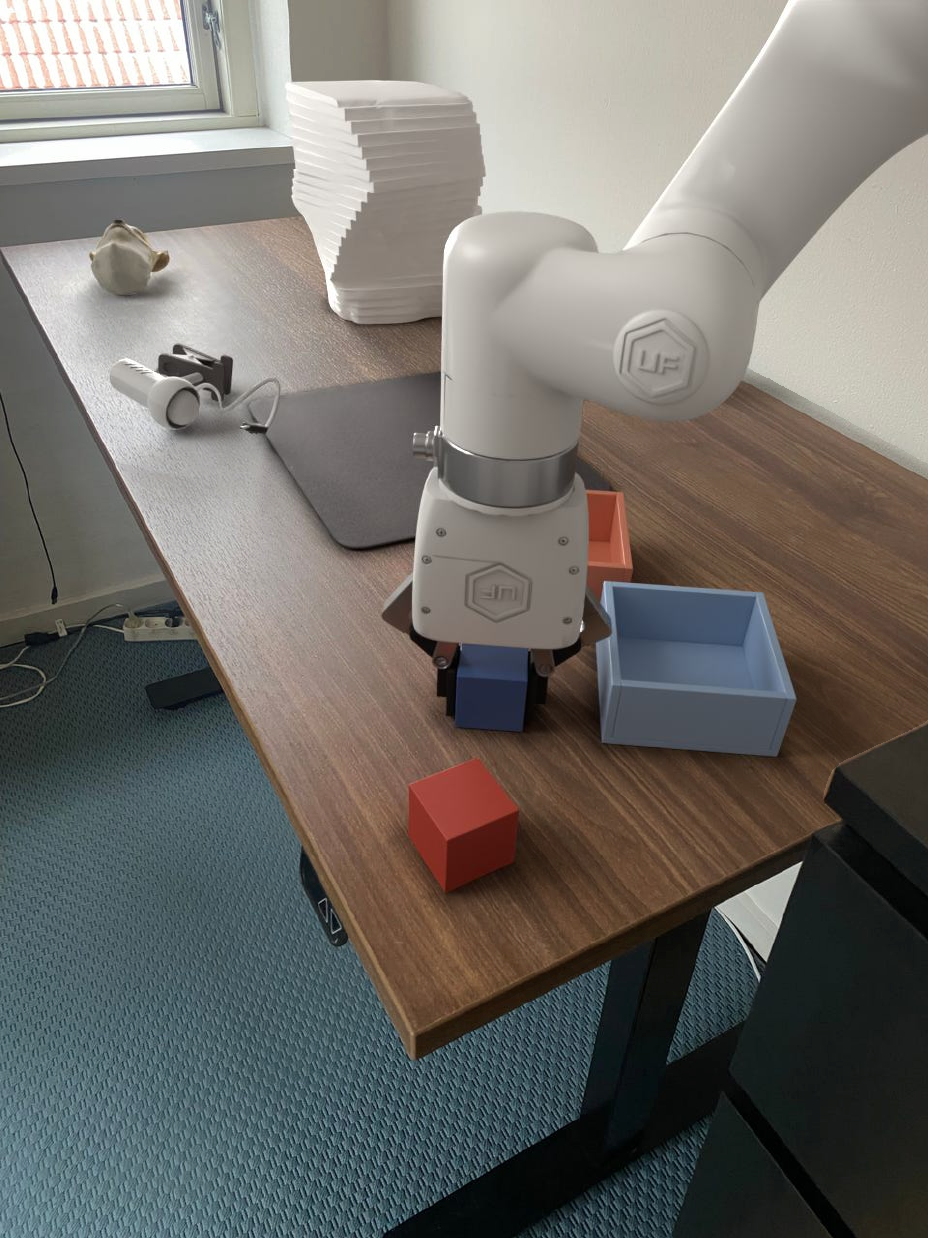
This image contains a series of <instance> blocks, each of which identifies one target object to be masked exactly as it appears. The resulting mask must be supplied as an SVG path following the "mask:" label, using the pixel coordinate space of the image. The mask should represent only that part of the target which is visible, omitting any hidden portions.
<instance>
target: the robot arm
mask: <svg viewBox="0 0 928 1238" xmlns="http://www.w3.org/2000/svg"><path fill="white" fill-rule="evenodd" d="M927 135H928V0H788V1H787V2H786V5H785V6H784V9H783V11H782V13H781V15H780V17H779V19H778V21H777V23H776V24H775V27H774V28H773V30H772V32H771V33H770V35H769V37H768V39H767V41H765V44H764V45H763V47H762V49H761V50H760V52H759V54H758V55H757V56H756V58H755V60H754V61H753V62H752V64H751V66H750V67H749V69H748V70H747V72H746V73H745V75H744V76H743V78H742V79H741V81H740V82H739V84H738V85H737V87H736V88H735V90H734V91H733V92H732V94H731V95H730V97H729V98H728V100H727V101H726V103H725V104H724V106H723V107H722V109H721V110H720V111H719V113H717V116H716V117H715V119H714V120H713V121H712V122H711V124H710V125H709V127H708V129H706V131H705V133H703V136H702V137H701V138H700V140H699V141H698V143H697V144H696V146H695V147H694V149H693V150H692V151H691V153H690V155H689V156H688V157H687V158H686V160H685V161H684V163H683V164H682V166H680V168H679V170H678V171H677V173H676V174H675V176H674V177H673V179H672V180H671V181H670V182H669V184H668V186H667V187H666V188H665V190H664V191H663V193H662V194H661V196H660V197H659V198H658V199H657V201H656V203H655V204H654V205H653V207H652V208H651V209H650V210H649V212H648V214H647V215H646V216H645V218H644V219H643V221H642V222H641V223H640V225H639V226H638V228H637V229H636V230H635V232H634V233H633V235H632V236H631V237H630V239H629V240H628V242H627V243H626V245H625V246H624V247H623V249H622V250H618V251H617V252H611V253H607V252H600V251H599V247H598V243H597V241H596V240H595V237H594V236H593V234H592V233H591V232H590V231H589V230H588V229H587V228H586V227H584V225H581V224H580V223H578V222H575V221H573V220H571V219H568V218H565V217H563V216H559V215H555V214H550V213H545V212H537V211H525V210H508V211H507V210H506V211H504V210H503V211H493V212H487V213H482V215H478V216H475V217H472V218H469V219H467V220H465V221H463V222H462V223H461V224H459V225H458V226H457V227H456V228H455V229H454V230H453V232H452V233H451V235H450V237H449V239H448V241H447V243H446V247H445V251H444V264H443V301H442V316H441V318H442V319H441V355H440V357H441V358H440V364H441V365H440V366H441V367H440V371H441V413H440V426H436V429H435V432H431V431H428V434H422V433H414V438H413V457H415V458H426V460H427V461H433V466H434V468H433V469H432V470H431V472H430V473H429V476H428V478H427V480H426V483H425V487H424V490H423V494H422V498H421V503H420V509H419V514H418V522H417V530H416V538H415V542H414V544H415V545H414V555H413V571H412V572H411V573H410V574H409V575H408V576H407V577H406V578H405V579H404V580H403V582H402V583H401V584H400V585H399V586H398V587H397V588H396V589H395V590H394V591H393V592H392V593H391V595H390V596H388V597H387V599H386V600H385V601H384V603H383V607H382V611H381V619H382V621H384V622H385V623H386V624H388V625H390V626H391V627H393V628H395V629H396V630H397V631H399V632H401V633H402V634H406V635H408V636H409V639H410V640H411V642H412V643H414V644H415V645H416V646H418V648H419V649H421V650H422V651H423V652H424V653H425V654H426V655H428V656H429V657H430V658H431V663H432V665H433V667H435V668H436V669H437V670H436V697H437V698H446V699H445V703H446V704H445V717H452V718H453V717H454V716H456V690H457V672H458V664H459V656H460V648H461V645H460V644H461V643H462V644H474V645H487V646H501V647H515V648H529V650H528V682H527V692H526V702H525V712H524V721H525V723H531V724H532V723H534V721H535V710H536V705H539V706H540V705H541V706H546V702H547V696H548V695H547V693H548V685H549V677H551V676H553V675H554V673H555V672H556V671H555V670H556V668H557V667H558V666H560V665H561V664H563V663H564V662H566V661H568V660H570V658H572V657H574V656H575V655H578V654H579V653H580V652H581V650H582V648H585V647H587V648H588V647H590V646H592V645H595V644H596V643H597V642H599V641H601V640H603V639H606V638H608V637H609V636H611V634H612V625H611V618H610V616H609V615H608V613H607V612H606V610H605V609H604V608H603V606H602V605H601V603H600V602H599V600H598V599H597V598H596V596H595V595H594V593H593V592H592V590H591V589H590V588H589V586H588V585H587V583H586V578H587V564H588V547H589V515H588V502H587V495H586V490H585V488H584V483H583V480H582V479H581V477H580V476H579V475H578V474H577V473H576V472H575V471H576V463H577V456H578V453H579V445H580V437H581V436H580V435H581V426H582V417H583V410H584V402H585V401H584V400H586V401H588V402H591V403H593V404H595V405H598V406H602V407H603V408H606V409H608V410H612V411H614V412H617V413H620V414H623V415H626V416H629V417H633V418H637V419H640V420H645V421H651V422H656V423H680V422H687V421H690V420H694V419H697V418H700V417H702V416H705V415H708V414H709V413H711V412H713V411H714V410H715V409H717V408H718V407H720V406H721V405H722V404H723V403H724V402H726V401H727V400H728V399H729V398H730V397H731V396H732V394H733V393H734V392H735V391H736V389H738V387H739V385H740V383H741V381H742V380H743V378H744V376H745V374H746V371H747V369H748V368H749V367H748V366H749V364H750V361H751V357H752V353H753V348H754V343H755V335H756V330H757V323H758V315H759V307H760V303H761V301H762V300H763V298H764V297H765V296H766V294H767V293H768V292H769V290H770V289H771V288H772V287H773V285H774V284H775V283H776V281H777V280H778V279H779V278H780V277H781V276H782V275H783V273H784V272H785V271H786V270H787V268H788V267H789V266H790V265H791V263H792V262H793V261H794V260H795V259H796V258H797V257H798V255H799V254H800V253H801V252H802V250H803V249H805V247H806V246H807V244H808V243H809V242H810V241H811V240H812V239H813V238H814V236H815V235H816V234H817V233H818V232H819V230H820V229H821V228H822V227H823V226H824V225H825V223H826V222H827V221H828V220H830V218H831V217H832V216H833V214H834V213H835V212H836V211H837V210H838V209H839V208H840V207H841V206H842V205H843V203H844V202H845V201H846V200H847V199H848V198H849V197H850V196H851V195H852V194H853V193H854V192H855V191H856V190H857V189H858V188H859V187H860V186H861V185H862V184H863V183H864V182H865V181H867V179H868V178H869V177H870V176H872V175H873V174H874V173H875V172H876V171H877V170H878V169H880V168H881V167H882V166H883V165H884V164H885V163H887V162H888V161H889V160H890V159H891V158H892V157H895V156H896V155H897V154H898V153H899V152H902V151H903V150H904V149H905V148H907V147H909V146H910V145H912V144H914V143H915V142H916V141H919V140H920V139H922V138H924V137H926V136H927Z"/></svg>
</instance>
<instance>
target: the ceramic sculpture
mask: <svg viewBox="0 0 928 1238" xmlns="http://www.w3.org/2000/svg"><path fill="white" fill-rule="evenodd" d="M149 241H150V240H149V239H148V238H147V236H146V234H145V233H144V232H143V231H142V230H141V229H140V228H138V227H136V226H133V225H132V226H131V225H129V224H127V223H126V222H125V220H123V219H120V218H117V219H115V220H113V221H112V223H111V224H110V225H109V226H108V227H107V228H106V229H105V230H104V231H103V233H102V235H101V236H100V240H99V241H98V242H97V244H96V247H95V252H93V251H90V252H89V254H88V257H89V259H90V262H91V263H90V269H91V271H92V272H91V273H92V274H93V276H94V278H95V280H96V282H97V283H98V285H100V286H101V288H102V289H103V290H105V291H106V292H108V293H110V294H115V295H119V296H130V295H134V294H139V293H141V292H143V291H144V290H145V289H146V288H147V286H148V283H149V281H150V278H151V273H157V272H160V271H162V270H164V269H166V267H167V266H168V265H169V263H170V257H171V256H170V255H169V251H168V250H163V251H156V250H154V249H153V247H152V244H151V243H150V242H149Z"/></svg>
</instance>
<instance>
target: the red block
mask: <svg viewBox="0 0 928 1238" xmlns="http://www.w3.org/2000/svg"><path fill="white" fill-rule="evenodd" d="M519 814H520V810H519V808H518V807H517V806H516V804H515V803H514V802H513V800H512V799H511V797H510V796H509V795H508V794H507V793H506V791H505V790H504V789H503V787H502V786H501V785H500V784H499V783H498V781H497V780H496V779H495V777H494V776H493V775H492V774H491V772H490V770H489V769H488V768H487V767H486V766H485V765H484V763H483V762H482V761H481V759H480V758H479V757H475V758H472V759H470V760H467V761H465V762H463V763H459V764H457V765H454V766H451V767H449V768H447V769H444V770H443V771H442V770H441V771H439V772H437V773H434V774H432V775H429V776H427V777H424V778H421V779H419V780H416V781H413V782H412V783H409V784H408V838H409V839H410V841H411V842H412V844H413V845H414V848H415V849H416V850H417V852H418V854H419V855H420V856H421V858H422V859H423V861H424V862H425V864H426V866H427V868H428V869H429V870H430V872H431V874H432V875H433V876H434V879H436V881H437V883H438V884H439V886H440V887H441V889H442V890H443V892H444V893H448V892H450V891H453V890H455V889H457V888H460V887H461V886H464V885H466V884H468V883H471V882H473V881H475V880H477V879H479V878H481V877H484V876H485V875H488V874H490V873H492V872H495V871H497V870H499V869H502V868H504V867H506V866H508V865H510V864H512V863H514V860H515V851H516V842H517V833H518V825H519V823H518V821H519V816H520V815H519Z"/></svg>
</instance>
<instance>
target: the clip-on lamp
mask: <svg viewBox="0 0 928 1238" xmlns="http://www.w3.org/2000/svg"><path fill="white" fill-rule="evenodd" d="M157 360H158V361H157V368H155V369H154V370H152V369H150V368H148V367H146V366H144V365H143V364H140V363H138V362H137V361H134V360H132V359H129V358H122V359H120V360H118V361H116V362H114V364H113V365H112V367H111V368H110V371H109V375H108V376H109V382H110V384H111V386H112V388H113V389H114V390H116V391H117V392H119V393H120V394H122V395H124V396H125V397H127V398H129V399H131V400H132V401H134V402H136V403H138V404H139V405H141V406H142V407H145V409H147V410H148V412H149V414H150V416H151V418H152V419H153V420H154V421H155V422H156V423H157V424H159V425H160V426H161V427H163V428H165V429H169V430H172V431H179V430H183V429H185V428H188V427H189V426H190V425H191V424H192V423H193V422H194V421H195V420H196V419H197V418H198V415H199V412H200V407H201V395H200V393H199V392H200V390H203V391H207V392H209V393H210V399H211V400H212V401H214V402H217V403H218V407H219V411H220V413H222V414H227V413H229V412H231V411H232V410H234V409H235V408H236V407H238V406H239V405H240V404H242V403H243V401H245V400H246V399H247V398H248V397H250V396H251V395H253V393H254V392H256V391H257V390H258V389H260V388H261V387H262V386H264V385H267V384H268V383H274V384H275V386H276V392H275V393H276V394H275V396H276V398H275V402H274V406H273V409H272V411H271V414H270V417H269V419H268V421H267V423H266V424H265V425H262V424H257V422H250V421H243V422H242V424H241V426H239V430H244V431H246V432H248V434H251V435H253V434H255V435H258V434H264V435H265V434H266V432H267V430H268V427H269V426H270V424H271V422H272V420H273V418H274V416H275V413H276V410H277V407H278V402H279V398H280V395H281V384H280V381H279V380H278V379H277V378H276V377H268V378H265V379H263V380H260V381H259V382H258V383H256V384H255V385H253V386H252V387H251V388H249V389H248V390H246V392H244V393H243V394H242V395H240V396H239V397H238V398H237V399H236V400H235V401H233V402H232V403H230V404H229V405H228V406H225V407H224V408H223V403H222V402H223V401H224V399H225V396H228V395H230V394H231V393H232V382H233V381H232V380H233V368H234V359H233V357H231V356H229V355H227V354H222V355H221V356H220V359H218V358H216V357H213V356H211V355H209V354H206V353H204V352H202V351H200V350H197V349H194V348H192V347H189V346H187V345H184V344H183V343H179V342H177V343H174V344H173V346H172V353H166V352H165V353H164V352H162V353H161V354H159V356H158V359H157Z"/></svg>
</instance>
